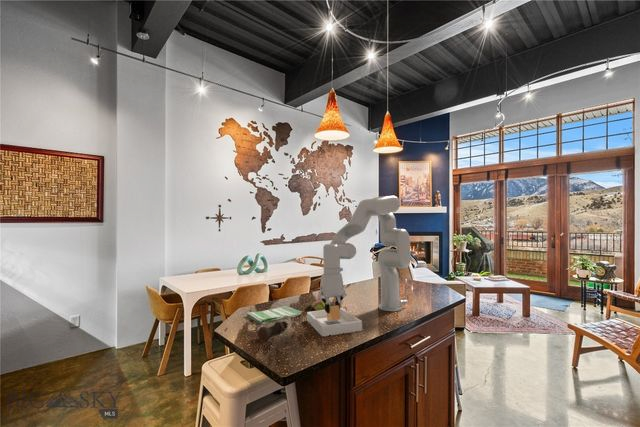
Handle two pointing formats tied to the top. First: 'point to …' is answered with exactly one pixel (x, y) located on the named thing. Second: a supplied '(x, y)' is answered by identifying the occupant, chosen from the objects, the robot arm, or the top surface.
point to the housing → (334, 323)
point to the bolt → (271, 330)
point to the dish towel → (273, 314)
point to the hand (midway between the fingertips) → (332, 311)
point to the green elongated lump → (317, 304)
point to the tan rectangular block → (333, 312)
